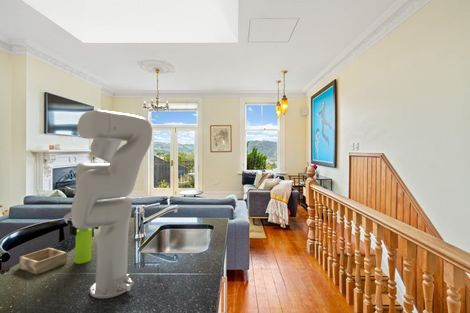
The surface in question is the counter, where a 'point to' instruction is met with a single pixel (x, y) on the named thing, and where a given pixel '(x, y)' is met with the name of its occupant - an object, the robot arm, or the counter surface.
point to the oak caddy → (42, 260)
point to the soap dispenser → (83, 246)
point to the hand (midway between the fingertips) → (84, 231)
